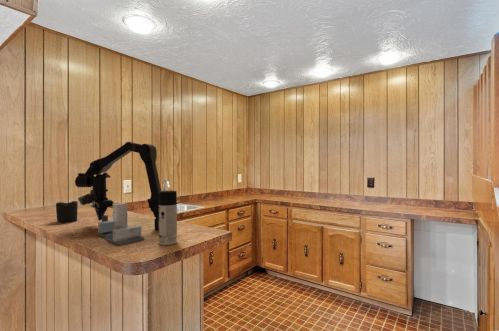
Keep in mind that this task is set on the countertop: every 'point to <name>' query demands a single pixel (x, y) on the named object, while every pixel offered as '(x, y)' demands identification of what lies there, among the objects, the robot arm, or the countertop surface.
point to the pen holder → (66, 212)
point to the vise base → (110, 238)
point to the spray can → (167, 217)
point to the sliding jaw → (105, 225)
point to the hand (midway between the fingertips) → (100, 220)
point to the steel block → (120, 215)
